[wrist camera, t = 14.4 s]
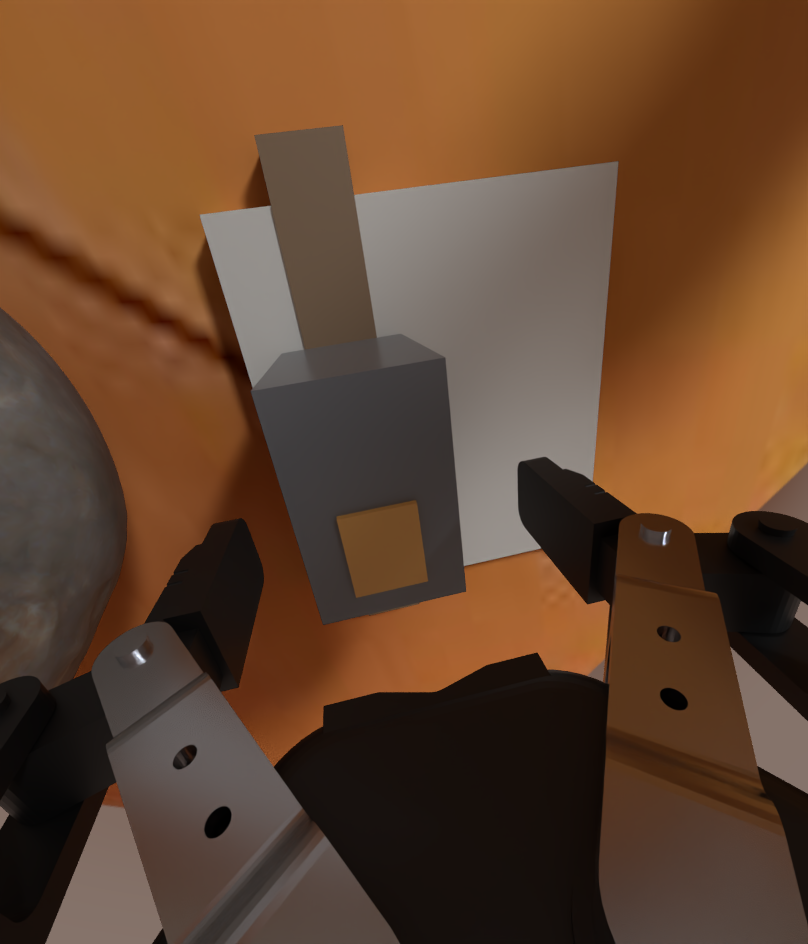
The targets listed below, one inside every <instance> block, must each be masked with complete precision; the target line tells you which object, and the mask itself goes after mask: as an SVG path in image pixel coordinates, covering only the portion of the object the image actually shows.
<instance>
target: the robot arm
mask: <svg viewBox="0 0 808 944" xmlns="http://www.w3.org/2000/svg"><path fill="white" fill-rule="evenodd" d="M517 476H518V511H519V516H520V519H521V522H522V524H523V526H524V527H525V529H526V530H527V531H528V532H529V534H530V535H531V536H532V537H533V538H534V540H535V541H536V542H537V543H538V545H539V546H540V547H541V548H542V549H543V551H544V552H545V553H546V554H547V556H548V557H549V558H550V559H551V560H552V562H553V563H554V564H555V565H556V567H557V568H558V569H559V570H560V572H561V573H562V574H563V575H564V576H565V578H566V579H567V580H568V581H569V583H570V584H571V585H572V586H573V587H574V589H575V590H576V591H577V592H578V594H579V595H580V596H581V597H582V598H583V600H584V601H585V602H586V603H587V604H591V603H595V602H599V601H603V600H606V601H607V602H608V603H609V605H610V608H609V617H608V630H607V642H606V654H605V666H604V678H603V682H602V681H599V680H597V679H594V678H591V677H588V676H585V675H582V674H578V673H573V672H569V671H561V670H547V669H546V667H545V665H544V663H543V661H542V660H541V658H540V656H539V654H538V653H534V654H530V655H526V656H522V657H518V658H514V659H510V660H506V661H502V662H498V663H494V664H490V665H486V666H484V667H483V668H481V669H479V670H477V671H475V672H473V673H472V674H470V675H468V676H466V677H464V678H462V679H461V680H459V681H457V682H455V683H453V684H451V685H449V686H448V687H446V688H444V689H442V690H440V691H437V692H378V693H374V694H370V695H366V696H362V697H358V698H354V699H350V700H346V701H342V702H338V703H334V704H330V705H326V706H324V713H323V727H321V728H319V729H317V730H316V731H314V732H313V733H311V734H310V735H308V736H307V737H305V738H304V739H302V740H301V741H300V742H299V743H297V744H296V745H295V746H294V747H293V748H291V749H290V750H289V751H288V752H287V753H286V754H285V755H284V756H283V757H282V758H281V759H280V760H279V761H278V762H277V764H276V765H275V766H274V767H273V766H272V764H271V763H270V761H269V760H268V758H267V757H266V756H265V754H264V753H263V751H262V750H261V749H260V747H259V746H258V744H257V743H256V741H255V740H254V739H253V737H252V736H251V734H250V733H249V732H248V730H247V729H246V727H245V726H244V724H243V723H242V722H241V720H240V719H239V717H238V716H237V715H236V713H235V712H234V710H233V709H232V707H231V706H230V705H229V703H228V702H227V700H226V699H225V698H224V696H223V695H222V693H221V692H222V691H226V690H230V689H234V688H238V687H239V683H240V679H241V675H242V671H243V667H244V663H245V658H246V654H247V650H248V646H249V642H250V638H251V634H252V629H253V625H254V621H255V617H256V613H257V609H258V604H259V600H260V596H261V592H262V588H263V583H264V574H263V567H262V563H261V561H260V558H259V555H258V553H257V550H256V547H255V545H254V542H253V539H252V537H251V534H250V532H249V529H248V526H247V524H246V522H245V521H244V520H243V519H242V518H240V519H235V520H230V521H225V522H220V523H215V524H213V525H212V526H211V528H210V530H209V532H208V534H207V536H206V537H205V539H204V541H203V543H202V544H200V545H196V546H195V547H194V548H193V549H192V550H190V551H189V552H188V553H187V554H186V555H185V556H184V557H183V558H182V559H181V560H180V562H179V564H178V566H177V567H176V569H175V571H174V575H172V576H171V578H170V580H169V581H168V583H167V587H165V588H164V590H163V592H162V594H161V595H160V597H159V599H158V601H157V602H156V604H155V606H154V608H153V609H152V611H151V613H150V615H149V616H148V618H147V620H146V622H145V623H144V624H143V625H140V626H137V627H135V628H133V629H131V630H129V631H127V632H125V633H124V634H122V635H121V636H119V637H118V638H116V639H115V640H114V641H112V642H111V643H110V644H109V645H108V646H107V647H106V648H105V649H104V650H103V651H102V652H101V653H100V654H99V656H98V657H97V658H96V660H95V662H94V664H93V666H92V671H90V672H88V673H86V674H84V675H81V676H79V677H77V678H75V679H72V680H70V681H68V682H66V683H64V684H61V685H59V686H57V687H55V688H52V689H50V690H47V689H46V688H45V686H44V685H43V684H42V683H41V682H40V680H39V679H38V678H36V677H34V676H22V677H17V678H14V679H11V680H8V681H5V682H3V683H1V684H0V806H1V807H2V808H3V809H4V810H5V811H6V812H8V813H9V816H8V817H7V819H6V821H5V823H4V825H3V826H2V828H1V830H0V944H45V943H46V941H47V938H48V936H49V933H50V931H51V928H52V926H53V923H54V921H55V918H56V916H57V913H58V911H59V908H60V906H61V903H62V901H63V899H64V896H65V894H66V891H67V888H68V886H69V884H70V881H71V879H72V876H73V874H74V871H75V869H76V866H77V864H78V861H79V859H80V856H81V854H82V852H83V849H84V847H85V844H86V842H87V839H88V836H89V834H90V832H91V829H92V827H93V824H94V822H95V819H96V817H97V814H98V812H99V810H100V807H101V805H102V802H103V800H104V797H105V795H106V792H107V790H108V787H109V786H110V785H112V784H114V783H116V782H117V785H118V788H119V792H120V795H121V798H122V801H123V804H124V807H125V810H126V813H127V817H128V820H129V823H130V826H131V829H132V832H133V836H134V839H135V842H136V845H137V848H138V851H139V855H140V858H141V861H142V864H143V867H144V870H145V873H146V876H147V880H148V883H149V886H150V889H151V892H152V895H153V899H154V902H155V905H156V908H157V911H158V914H159V917H160V921H161V923H162V927H163V929H162V930H161V931H160V933H159V934H158V936H157V937H156V939H155V940H154V942H153V943H152V944H808V794H807V793H805V792H804V791H802V790H800V789H798V788H796V787H794V786H793V785H791V784H789V783H787V782H785V781H784V780H782V779H780V778H778V777H776V776H775V775H773V774H771V773H769V772H767V771H765V770H764V769H762V768H760V767H758V766H757V763H756V759H755V754H754V750H753V745H752V741H751V737H750V733H749V728H748V723H747V719H746V715H745V710H744V706H743V701H742V697H741V692H740V688H739V683H738V679H737V675H736V670H735V666H734V662H733V657H732V653H731V648H733V650H735V651H736V652H737V653H738V654H739V655H740V656H741V657H742V658H743V659H744V660H745V661H746V662H747V663H748V664H749V665H750V666H751V667H752V668H753V669H754V670H755V671H756V672H757V673H758V674H760V675H761V676H762V677H763V678H764V679H765V680H766V681H767V682H768V683H769V684H770V685H771V686H772V687H773V688H774V689H775V690H776V691H777V692H778V693H779V694H780V695H781V696H782V697H783V698H784V699H785V700H786V701H787V702H788V703H790V704H791V705H792V706H793V707H794V708H795V709H796V710H797V711H798V712H799V713H800V714H801V715H802V716H803V717H804V718H805V719H806V720H807V721H808V627H807V626H805V625H804V624H802V623H801V622H800V621H798V620H797V619H796V618H795V614H796V612H797V609H798V607H799V604H800V602H801V601H802V602H804V603H806V604H807V605H808V523H806V522H804V521H802V520H799V519H797V518H794V517H791V516H787V515H783V514H779V513H773V512H766V511H750V512H744V513H740V514H738V515H736V516H735V517H734V518H733V520H732V524H731V528H730V531H729V533H693V531H692V530H691V529H690V528H689V527H688V526H687V525H685V524H684V523H682V522H680V521H678V520H676V519H674V518H671V517H668V516H664V515H659V514H651V513H640V514H637V513H635V512H634V511H632V510H631V509H630V508H628V507H627V506H626V505H624V504H623V503H621V502H620V501H619V500H617V499H616V498H614V497H613V496H612V495H610V494H609V493H608V492H606V493H605V490H603V489H602V488H601V487H599V486H598V485H595V483H594V482H592V481H591V480H590V479H588V478H587V477H586V476H584V475H583V474H580V473H577V472H574V471H571V470H569V469H562V468H560V467H559V466H558V465H557V464H555V463H554V462H553V461H551V460H550V459H549V458H547V457H540V458H535V459H530V460H525V461H521V462H519V464H518V469H517ZM730 647H731V648H730Z"/></svg>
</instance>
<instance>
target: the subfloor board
mask: <svg viewBox="0 0 808 944" xmlns="http://www.w3.org/2000/svg"><path fill="white" fill-rule="evenodd" d="M254 136H255V140H256V144H257V148H258V152H259V157H260V161H261V165H262V169H263V173H264V178H265V182H266V186H267V190H268V194H269V199H270V203H271V206H265V207H257V208H249V209H241V210H234V211H226V212H218V213H210V214H202V215H200V218H201V221H202V225H203V228H204V231H205V234H206V238H207V241H208V244H209V247H210V251H211V254H212V257H213V260H214V264H215V267H216V270H217V273H218V277H219V280H220V283H221V286H222V290H223V293H224V296H225V299H226V303H227V306H228V309H229V312H230V316H231V319H232V322H233V325H234V329H235V332H236V335H237V338H238V342H239V345H240V348H241V351H242V355H243V358H244V361H245V364H246V368H247V371H248V374H249V378H250V381H251V384H252V387H253V388H254V386H255V385H256V384H257V383H258V382H259V380H260V379H261V378H262V377H263V375H264V374H265V373H266V372H267V371H268V369H269V368H270V367H271V366H272V364H273V363H274V362H275V361H276V360H277V358H278V357H279V356H280V355H281V354H282V353H287V352H293V351H299V350H305V349H311V348H318V347H324V346H330V345H336V344H342V343H348V342H354V341H360V340H366V339H372V338H378V337H384V336H390V335H396V334H403V335H404V336H406V337H408V338H410V339H412V340H414V341H416V342H417V343H419V344H421V345H423V346H425V347H427V348H429V349H431V350H432V351H434V352H436V353H438V354H440V355H442V356H444V357H445V359H446V370H447V381H448V393H449V404H450V415H451V426H452V438H453V449H454V460H455V471H456V483H457V494H458V505H459V517H460V528H461V539H462V550H463V562H464V566H466V565H471V564H475V563H480V562H484V561H488V560H493V559H497V558H501V557H506V556H510V555H515V554H519V553H523V552H528V551H532V550H536V549H541V547H540V546H539V545H538V543H537V542H536V541H535V540H534V538H533V537H532V536H531V535H530V534H529V532H528V531H527V530H526V529H525V527H524V526H523V524H522V522H521V519H520V516H519V511H518V476H517V469H518V464H519V462H521V461H525V460H530V459H535V458H540V457H547V458H549V459H550V460H551V461H553V462H554V463H555V464H557V465H558V466H559V467H560V468H562V469H569V470H571V471H574V472H577V473H580V474H583V475H584V476H586V477H587V478H588V479H590V480H591V481H592V482H593V470H594V458H595V446H596V433H597V421H598V409H599V396H600V384H601V372H602V359H603V347H604V335H605V322H606V310H607V298H608V285H609V273H610V261H611V248H612V236H613V224H614V211H615V199H616V186H617V174H618V162H619V161H616V162H608V163H601V164H593V165H585V166H577V167H569V168H561V169H554V170H546V171H538V172H530V173H522V174H515V175H507V176H499V177H491V178H483V179H476V180H468V181H460V182H452V183H444V184H437V185H429V186H421V187H413V188H405V189H398V190H390V191H382V192H374V193H366V194H359V195H354V192H353V186H352V180H351V174H350V167H349V161H348V155H347V149H346V142H345V136H344V130H343V125H342V126H333V127H324V128H315V129H306V130H297V131H288V132H279V133H270V134H260V135H254ZM416 604H419V603H415V604H410V605H406V606H402V607H398V608H393V609H389V610H385V611H381V612H376V613H372V614H369V615H374V614H378V613H382V612H386V611H391V610H395V609H399V608H403V607H408V606H412V605H416Z"/></svg>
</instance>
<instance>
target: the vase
mask: <svg viewBox="0 0 808 944" xmlns="http://www.w3.org/2000/svg"><path fill="white" fill-rule="evenodd" d="M126 528H127V511H126V506H125V500H124V494H123V490H122V487H121V483H120V480H119V476H118V473H117V470H116V467H115V464H114V461H113V459H112V456H111V454H110V451H109V449H108V447H107V444H106V442H105V440H104V438H103V435H102V433H101V431H100V429H99V427H98V425H97V423H96V422H95V420H94V418H93V416H92V414H91V412H90V411H89V409H88V407H87V406H86V404H85V402H84V401H83V399H82V398H81V396H80V395H79V393H78V392H77V390H76V389H75V387H74V386H73V385H72V383H71V382H70V380H69V379H68V378H67V376H66V375H65V374H64V372H63V371H62V370H61V368H60V367H59V366H58V365H57V363H56V362H55V361H54V360H53V359H52V357H51V356H50V355H49V354H48V353H47V352H46V351H45V349H44V348H43V347H42V346H41V345H40V344H39V343H38V342H37V341H36V340H35V339H34V338H33V337H32V336H31V335H30V334H29V333H28V332H27V331H26V330H25V329H24V328H23V327H22V326H21V325H20V324H19V323H18V322H16V321H15V320H14V319H13V318H12V317H11V316H10V315H8V314H7V313H6V312H5V311H4V310H3V309H1V308H0V684H1V683H3V682H5V681H8V680H11V679H14V678H17V677H22V676H34V677H36V678H38V679H39V680H40V682H41V683H42V684H43V685H44V686H45V688H46V689H47V690H50V689H52V688H55V687H57V686H59V685H61V684H64V683H66V682H68V681H70V680H72V679H73V678H74V676H75V674H76V672H77V670H78V668H79V665H80V664H81V662H82V660H83V659H84V657H85V655H86V653H87V651H88V649H89V646H90V644H91V642H92V639H93V637H94V634H95V632H96V629H97V627H98V624H99V622H100V619H101V617H102V614H103V612H104V609H105V607H106V605H107V604H108V601H109V599H110V596H111V594H112V592H113V590H114V588H115V586H116V584H117V581H118V578H119V575H120V571H121V567H122V562H123V557H124V553H125V548H126V541H127V529H126Z"/></svg>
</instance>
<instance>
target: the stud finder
mask: <svg viewBox="0 0 808 944" xmlns="http://www.w3.org/2000/svg"><path fill="white" fill-rule="evenodd" d="M251 394H252V397H253V401H254V404H255V407H256V410H257V414H258V417H259V420H260V423H261V426H262V430H263V433H264V436H265V439H266V443H267V446H268V449H269V452H270V455H271V459H272V462H273V465H274V468H275V471H276V475H277V478H278V481H279V484H280V488H281V491H282V494H283V497H284V500H285V504H286V507H287V510H288V513H289V517H290V520H291V523H292V526H293V529H294V533H295V536H296V539H297V542H298V546H299V549H300V552H301V555H302V558H303V562H304V565H305V568H306V571H307V574H308V578H309V581H310V584H311V587H312V591H313V594H314V597H315V600H316V603H317V607H318V610H319V613H320V616H321V620H322V623H323V625H325V624H330V623H334V622H338V621H342V620H347V619H351V618H355V617H359V616H364V615H368V614H372V613H376V612H381V611H385V610H389V609H393V608H398V607H402V606H406V605H410V604H415V603H419V602H423V601H427V600H432V599H436V598H440V597H444V596H449V595H453V594H457V593H461V592H466V584H465V573H464V562H463V550H462V539H461V528H460V517H459V505H458V494H457V483H456V471H455V460H454V449H453V438H452V426H451V415H450V404H449V393H448V381H447V370H446V359H445V357H444V356H442V355H440V354H438V353H436V352H434V351H432V350H431V349H429V348H427V347H425V346H423V345H421V344H419V343H417V342H416V341H414V340H412V339H410V338H408V337H406V336H404V335H403V334H396V335H390V336H384V337H378V338H372V339H366V340H360V341H354V342H348V343H342V344H336V345H330V346H324V347H318V348H311V349H305V350H299V351H293V352H287V353H282V354H281V355H280V356H279V357H278V358H277V360H276V361H275V362H274V363H273V364H272V366H271V367H270V368H269V369H268V371H267V372H266V373H265V374H264V375H263V377H262V378H261V379H260V380H259V382H258V383H257V384H256V385H255V386H254V388H253V389H252V390H251Z"/></svg>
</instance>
